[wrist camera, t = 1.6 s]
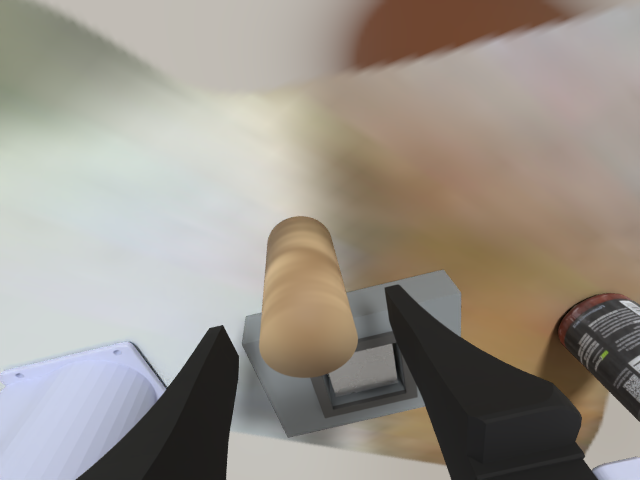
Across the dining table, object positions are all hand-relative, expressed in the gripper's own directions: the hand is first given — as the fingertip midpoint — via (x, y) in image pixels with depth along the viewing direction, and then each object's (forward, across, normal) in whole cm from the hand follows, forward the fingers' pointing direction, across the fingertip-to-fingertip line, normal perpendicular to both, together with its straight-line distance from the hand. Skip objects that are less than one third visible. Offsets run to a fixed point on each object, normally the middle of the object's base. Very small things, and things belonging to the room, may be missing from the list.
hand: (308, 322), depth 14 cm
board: (+7, -2, +10) cm, 12 cm away
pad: (+5, -2, +10) cm, 11 cm away
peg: (+7, 0, 0) cm, 7 cm away
